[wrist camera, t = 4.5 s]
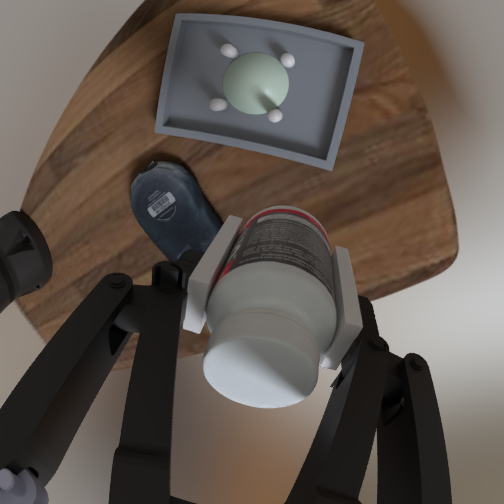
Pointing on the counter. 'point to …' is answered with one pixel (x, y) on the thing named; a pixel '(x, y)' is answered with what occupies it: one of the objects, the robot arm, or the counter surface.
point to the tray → (258, 86)
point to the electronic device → (173, 209)
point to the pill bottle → (272, 311)
